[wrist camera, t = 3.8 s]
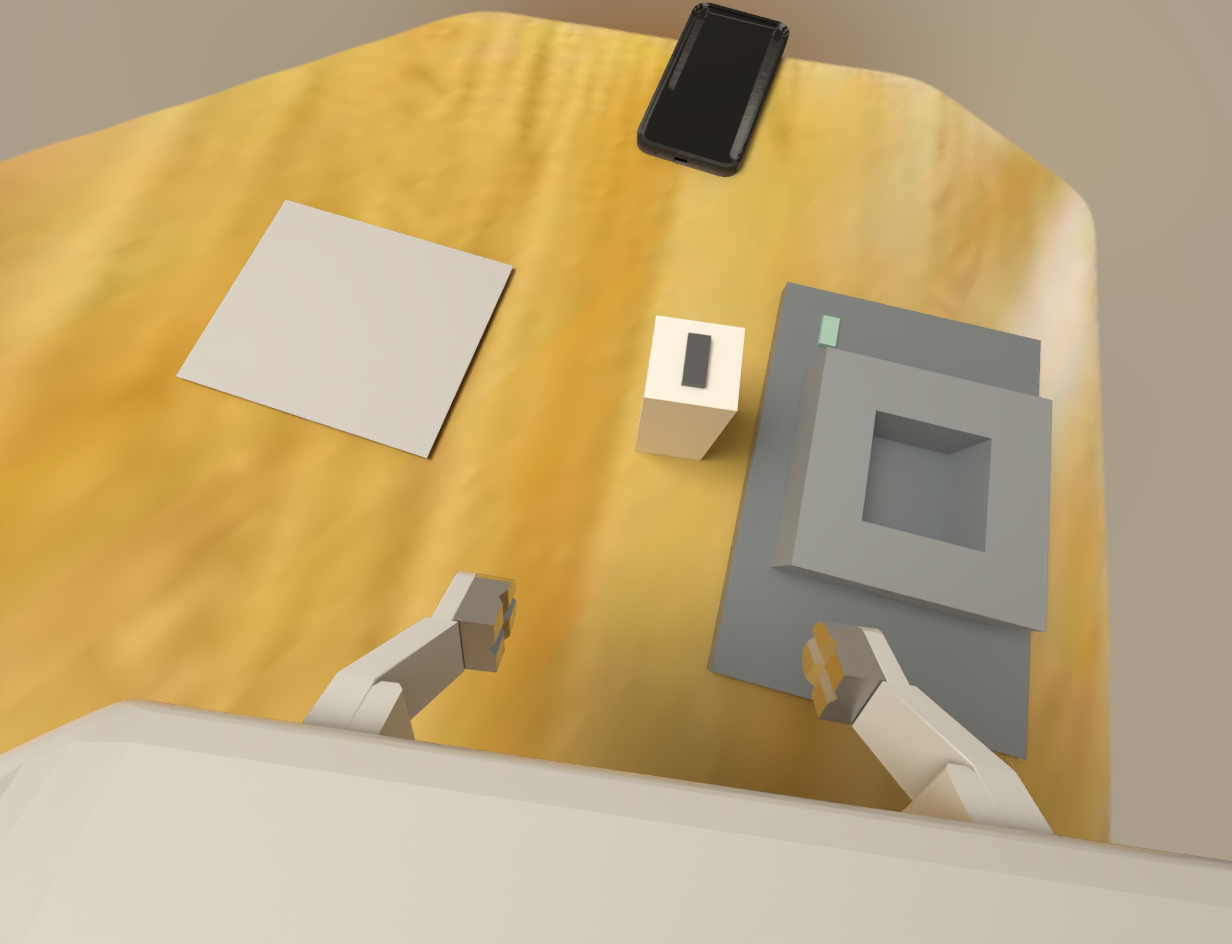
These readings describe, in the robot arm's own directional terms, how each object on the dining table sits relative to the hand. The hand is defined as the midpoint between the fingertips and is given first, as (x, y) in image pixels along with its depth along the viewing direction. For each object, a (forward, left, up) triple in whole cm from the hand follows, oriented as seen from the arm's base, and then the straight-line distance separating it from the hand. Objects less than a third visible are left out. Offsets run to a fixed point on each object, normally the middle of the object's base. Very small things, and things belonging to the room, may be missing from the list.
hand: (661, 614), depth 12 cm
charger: (+10, 0, -13) cm, 17 cm away
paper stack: (+16, +17, -14) cm, 27 cm away
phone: (+37, +3, -14) cm, 40 cm away
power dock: (+9, -13, -13) cm, 20 cm away
